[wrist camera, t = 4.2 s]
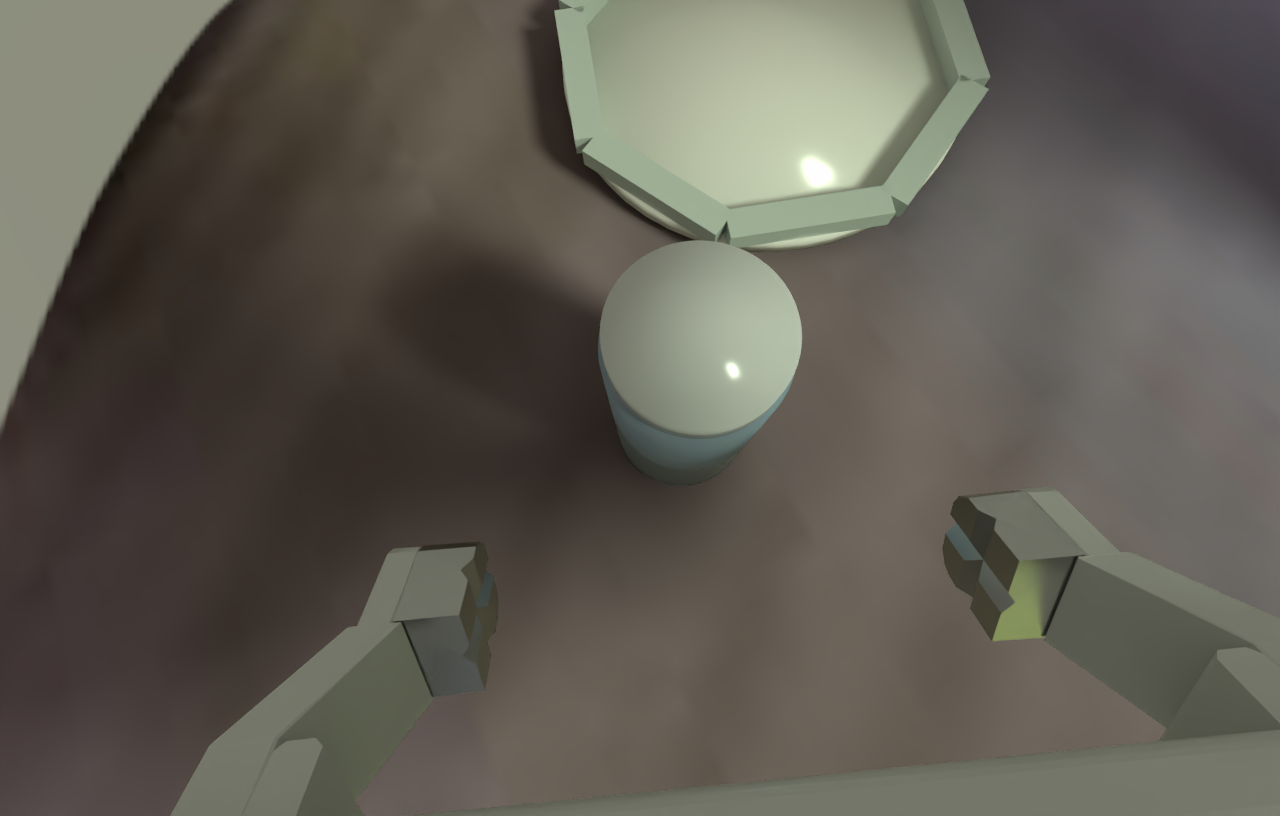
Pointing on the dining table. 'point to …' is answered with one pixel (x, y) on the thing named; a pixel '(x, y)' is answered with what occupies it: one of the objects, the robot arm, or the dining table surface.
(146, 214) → the dining table surface
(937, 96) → the plate
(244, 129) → the dining table surface
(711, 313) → the ball
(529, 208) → the dining table surface
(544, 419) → the dining table surface
